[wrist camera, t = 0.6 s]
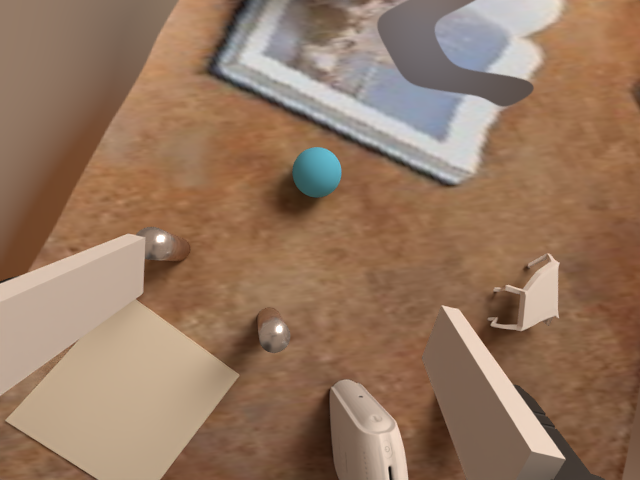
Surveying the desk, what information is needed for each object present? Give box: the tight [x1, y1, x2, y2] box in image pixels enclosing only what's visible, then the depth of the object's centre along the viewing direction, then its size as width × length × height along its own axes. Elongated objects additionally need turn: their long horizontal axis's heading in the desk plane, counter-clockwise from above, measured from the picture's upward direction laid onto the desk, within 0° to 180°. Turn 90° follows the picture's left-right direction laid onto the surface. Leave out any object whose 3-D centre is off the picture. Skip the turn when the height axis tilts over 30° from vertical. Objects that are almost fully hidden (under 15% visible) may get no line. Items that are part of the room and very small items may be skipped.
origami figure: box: [488, 253, 560, 331], centre depth 40 cm, size 12×8×5 cm
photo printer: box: [330, 380, 408, 480], centre depth 30 cm, size 10×4×12 cm, turn 4°
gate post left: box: [136, 227, 190, 261], centre depth 29 cm, size 3×3×9 cm
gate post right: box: [257, 308, 290, 353], centre depth 30 cm, size 3×3×9 cm
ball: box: [292, 147, 341, 197], centre depth 34 cm, size 6×6×6 cm
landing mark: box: [5, 299, 239, 480], centre depth 31 cm, size 15×15×1 cm
